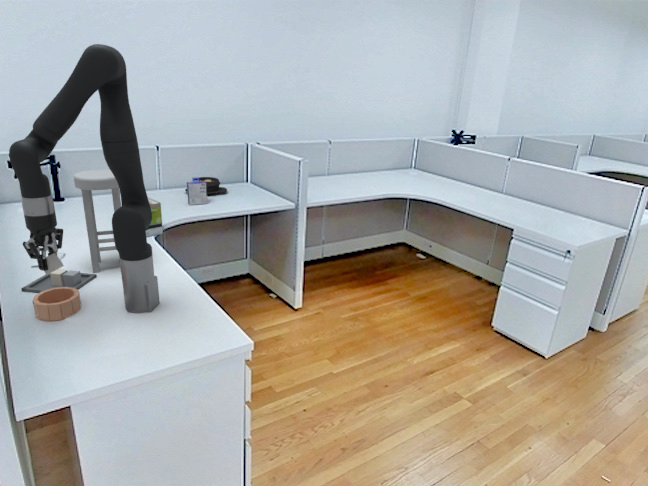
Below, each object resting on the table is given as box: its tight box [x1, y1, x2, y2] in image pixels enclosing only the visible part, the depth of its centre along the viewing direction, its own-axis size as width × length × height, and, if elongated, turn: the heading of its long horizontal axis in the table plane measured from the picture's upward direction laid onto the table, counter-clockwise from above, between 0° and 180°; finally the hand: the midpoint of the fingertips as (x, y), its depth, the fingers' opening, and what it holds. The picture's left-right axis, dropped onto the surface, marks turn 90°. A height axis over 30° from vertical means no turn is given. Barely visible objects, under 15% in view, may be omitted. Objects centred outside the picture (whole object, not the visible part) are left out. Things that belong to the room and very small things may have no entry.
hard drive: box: [31, 251, 66, 268], centre depth 169 cm, size 2×8×12 cm
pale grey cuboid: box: [43, 253, 65, 275], centre depth 131 cm, size 4×4×4 cm
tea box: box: [145, 197, 163, 238], centre depth 202 cm, size 15×10×15 cm, turn 47°
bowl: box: [32, 287, 82, 322], centre depth 135 cm, size 12×12×5 cm
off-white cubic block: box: [50, 268, 69, 287], centre depth 151 cm, size 4×4×4 cm
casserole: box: [184, 176, 228, 196], centre depth 273 cm, size 25×19×8 cm
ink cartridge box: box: [186, 177, 208, 206], centre depth 249 cm, size 10×6×14 cm, turn 118°
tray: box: [20, 272, 98, 294], centre depth 152 cm, size 16×15×1 cm
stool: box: [73, 169, 122, 274], centre depth 162 cm, size 16×16×35 cm
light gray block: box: [63, 270, 82, 288], centre depth 150 cm, size 4×4×4 cm
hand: (49, 267), depth 132 cm, fingers closed on pale grey cuboid, 3 cm apart
